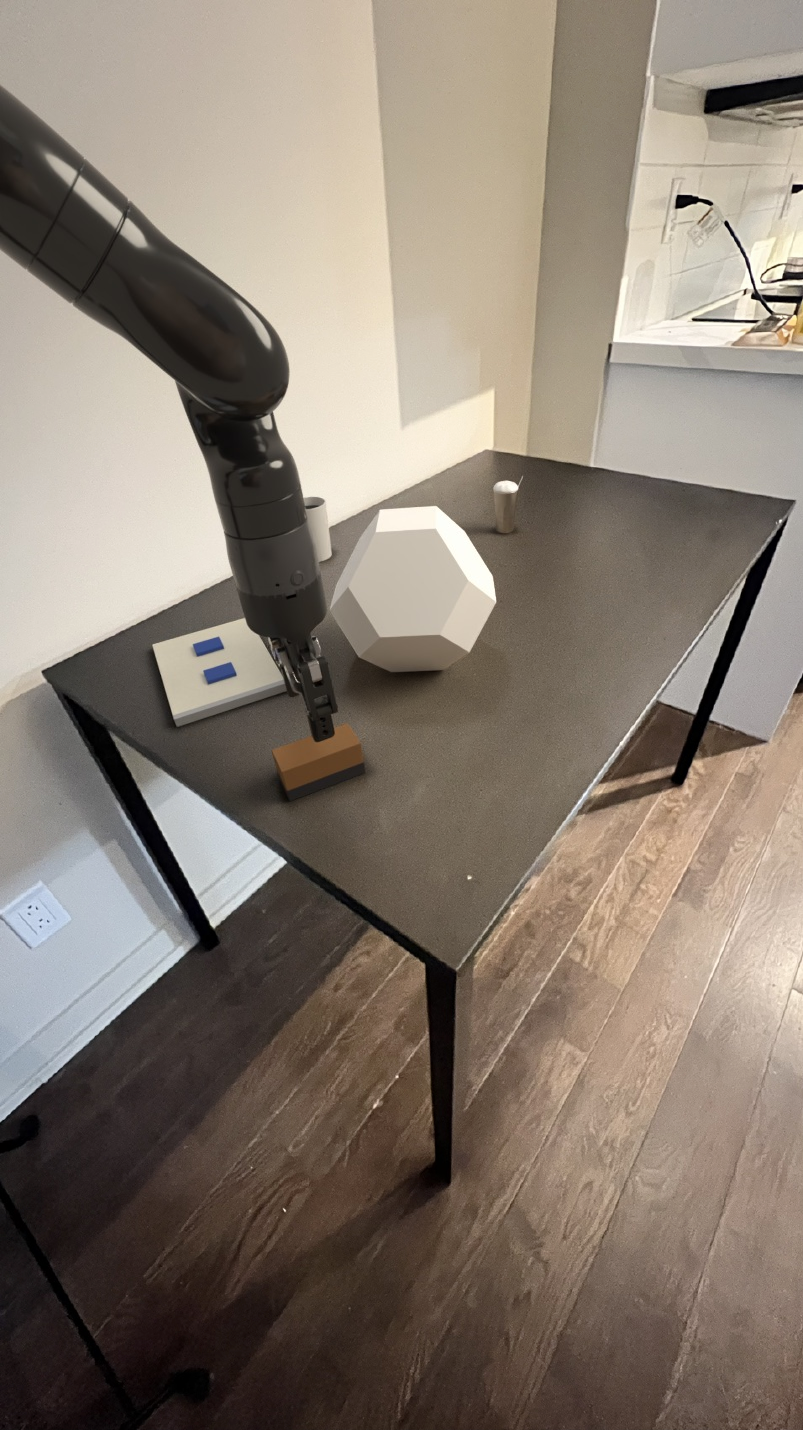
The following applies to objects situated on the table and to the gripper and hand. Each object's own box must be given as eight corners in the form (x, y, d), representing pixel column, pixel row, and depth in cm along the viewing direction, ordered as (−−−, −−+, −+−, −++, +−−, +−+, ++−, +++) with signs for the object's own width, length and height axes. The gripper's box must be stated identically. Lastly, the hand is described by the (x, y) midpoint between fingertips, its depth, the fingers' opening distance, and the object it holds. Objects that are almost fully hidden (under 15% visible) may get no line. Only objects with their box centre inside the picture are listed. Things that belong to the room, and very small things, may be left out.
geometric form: (420, 606, 99) (411, 479, 86) (519, 652, 87) (525, 511, 74) (319, 660, 89) (292, 525, 77) (414, 720, 77) (401, 571, 64)
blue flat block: (197, 656, 90) (196, 653, 90) (193, 647, 93) (192, 644, 92) (224, 648, 91) (223, 645, 91) (220, 639, 94) (219, 636, 93)
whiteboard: (176, 727, 80) (173, 719, 79) (154, 651, 95) (151, 643, 94) (288, 690, 84) (286, 682, 83) (250, 623, 99) (248, 616, 98)
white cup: (337, 547, 119) (329, 495, 113) (330, 562, 114) (321, 509, 108) (303, 548, 120) (293, 497, 114) (295, 564, 115) (284, 511, 109)
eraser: (365, 772, 70) (360, 742, 67) (289, 801, 68) (281, 772, 65) (352, 752, 73) (347, 722, 70) (279, 779, 71) (271, 749, 68)
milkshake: (522, 533, 117) (524, 480, 111) (494, 535, 118) (494, 482, 112) (519, 524, 121) (521, 471, 115) (491, 526, 121) (492, 474, 115)
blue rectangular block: (208, 684, 85) (207, 681, 84) (204, 673, 87) (202, 670, 86) (237, 675, 86) (236, 672, 85) (232, 665, 88) (231, 661, 87)
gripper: (218, 554, 59) (258, 691, 69) (256, 618, 49) (297, 768, 59) (293, 534, 61) (321, 670, 71) (345, 592, 51) (369, 741, 61)
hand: (310, 714), depth 65 cm, fingers open, 8 cm apart
